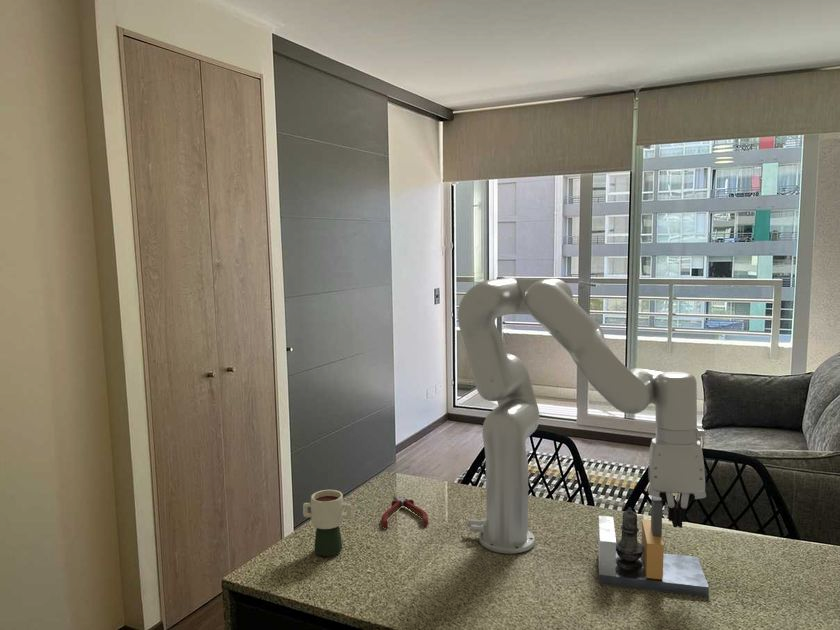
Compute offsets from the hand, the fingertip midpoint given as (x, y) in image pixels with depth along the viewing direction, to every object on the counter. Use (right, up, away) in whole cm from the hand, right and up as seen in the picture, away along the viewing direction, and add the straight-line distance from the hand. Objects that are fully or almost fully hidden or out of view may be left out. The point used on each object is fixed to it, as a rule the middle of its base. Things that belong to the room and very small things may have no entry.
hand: (676, 524), depth 123 cm
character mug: (-72, -11, +14) cm, 74 cm away
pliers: (-54, -9, +34) cm, 65 cm away
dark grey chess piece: (-8, -9, +3) cm, 13 cm away
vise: (-5, -11, +2) cm, 12 cm away
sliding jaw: (-4, -9, +2) cm, 10 cm away
